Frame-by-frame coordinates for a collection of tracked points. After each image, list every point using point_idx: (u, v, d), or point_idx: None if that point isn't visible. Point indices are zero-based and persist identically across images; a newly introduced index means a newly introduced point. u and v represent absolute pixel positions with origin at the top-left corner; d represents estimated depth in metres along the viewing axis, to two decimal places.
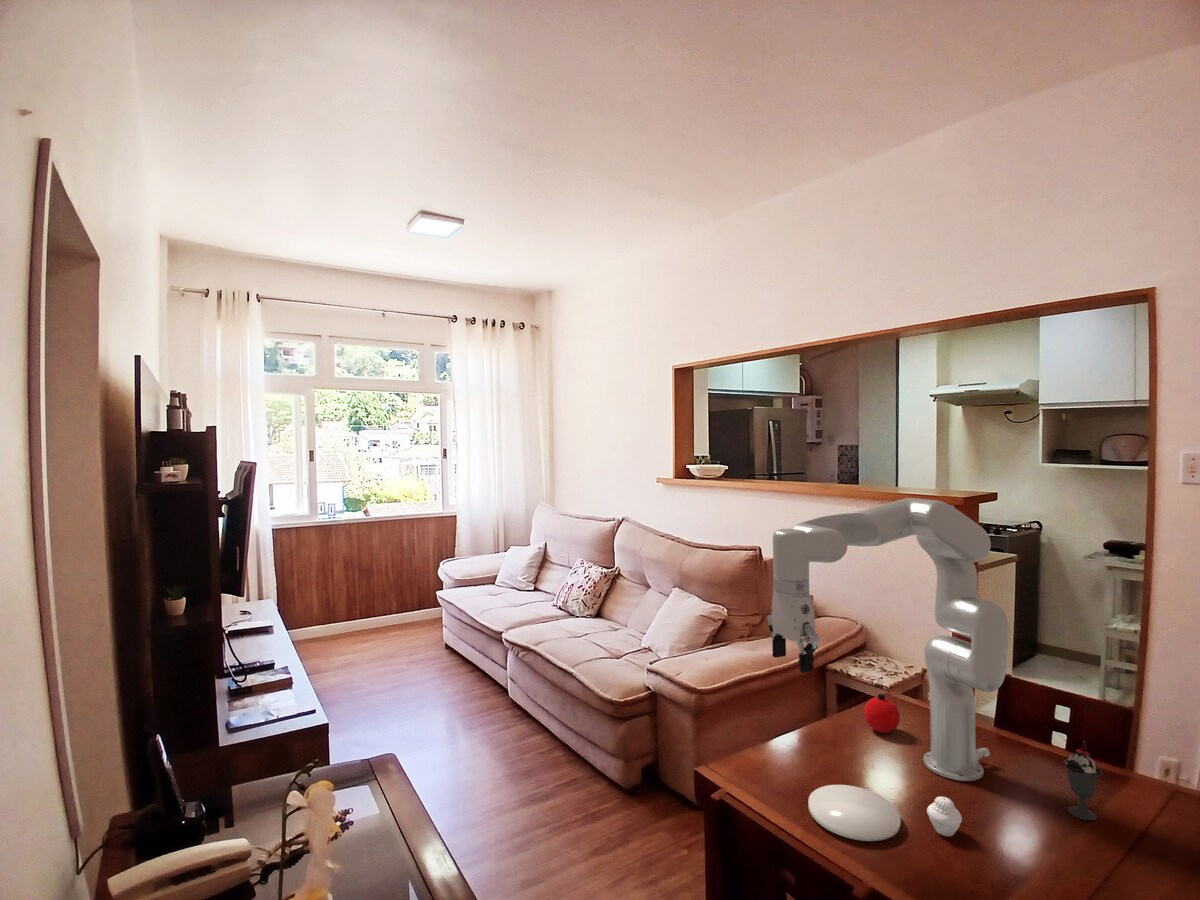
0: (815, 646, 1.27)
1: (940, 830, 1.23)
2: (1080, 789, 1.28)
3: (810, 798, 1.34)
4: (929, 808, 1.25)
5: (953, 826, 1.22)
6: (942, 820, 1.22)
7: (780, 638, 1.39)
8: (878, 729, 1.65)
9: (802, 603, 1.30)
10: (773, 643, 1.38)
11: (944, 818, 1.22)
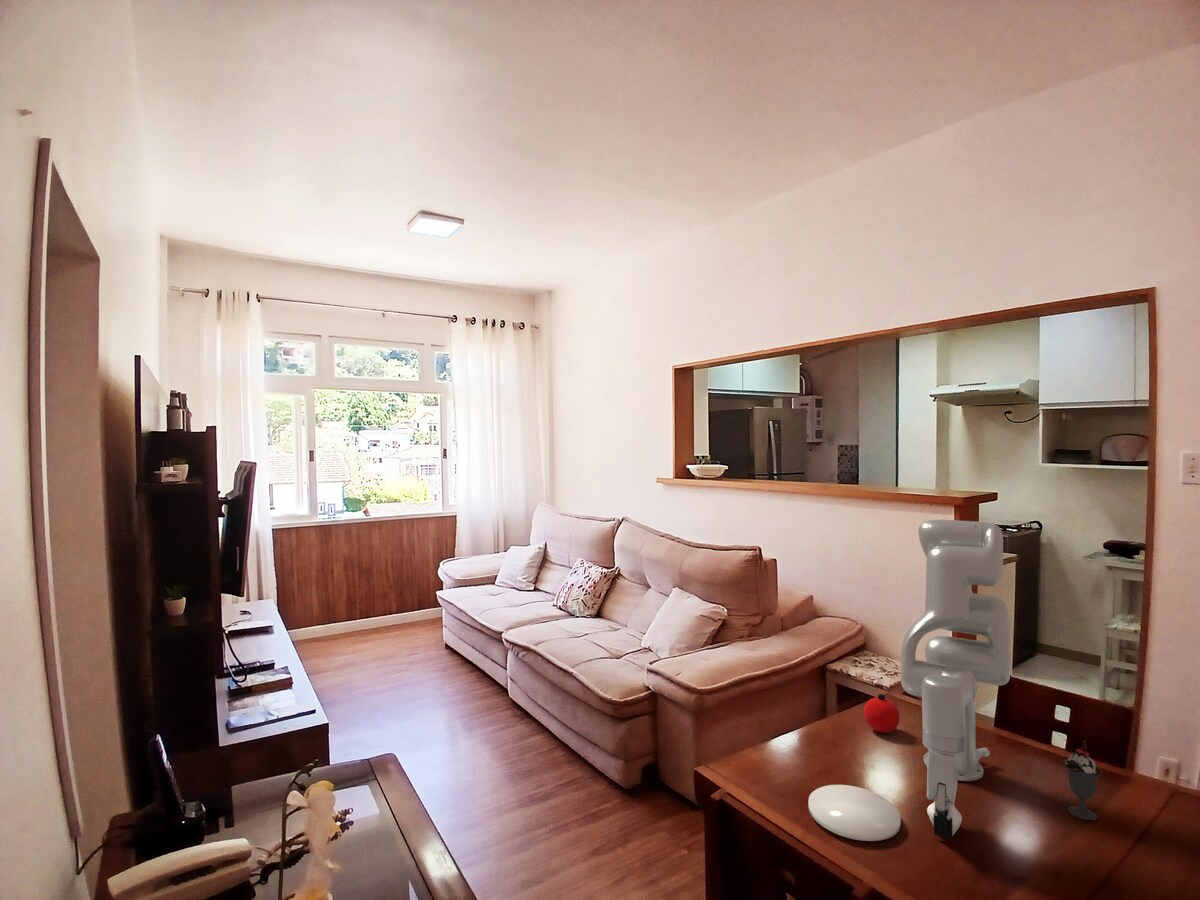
0: None
1: None
2: (1080, 789, 1.28)
3: (810, 798, 1.34)
4: (929, 808, 1.25)
5: (953, 826, 1.22)
6: None
7: None
8: (878, 729, 1.65)
9: None
10: None
11: None
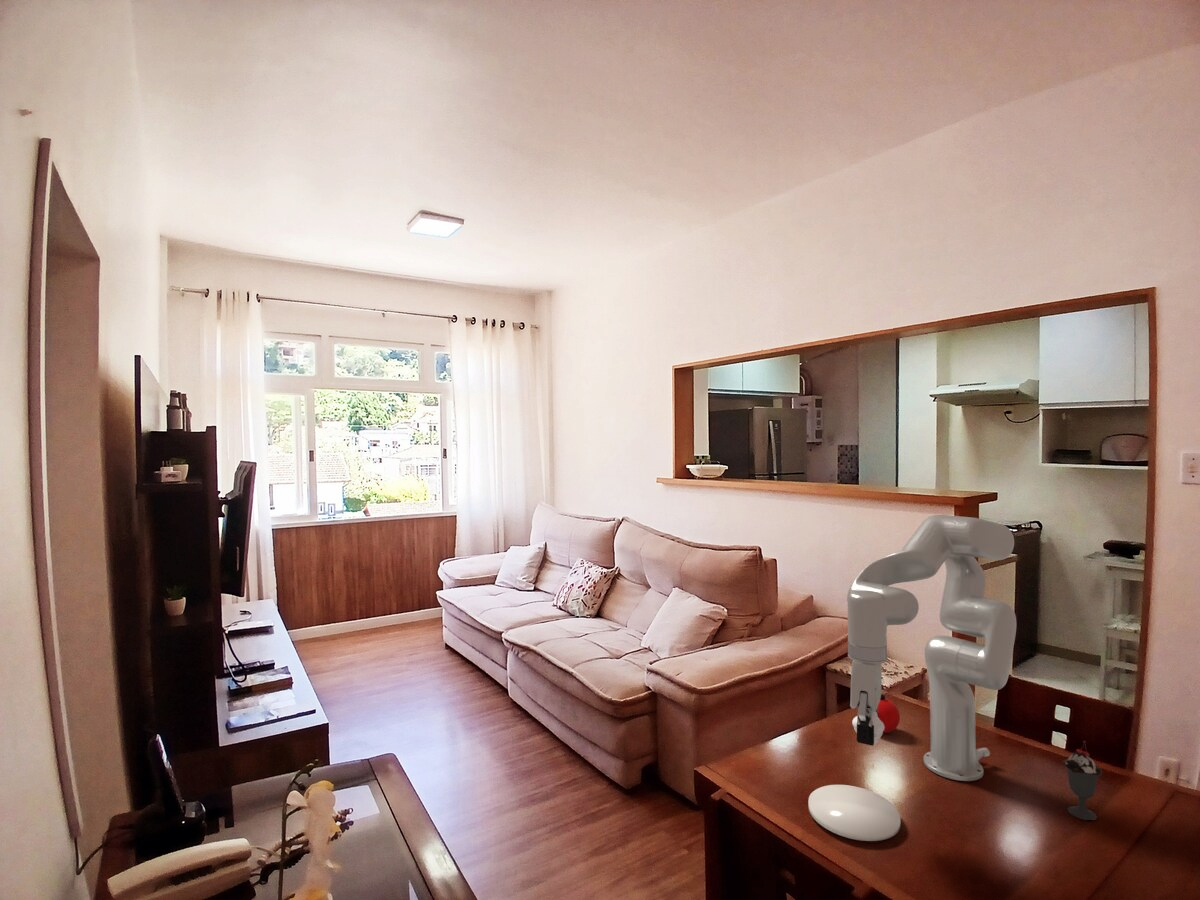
0: None
1: None
2: (1080, 789, 1.28)
3: (810, 798, 1.34)
4: (854, 719, 1.29)
5: (875, 734, 1.26)
6: None
7: None
8: None
9: None
10: (873, 729, 1.25)
11: None
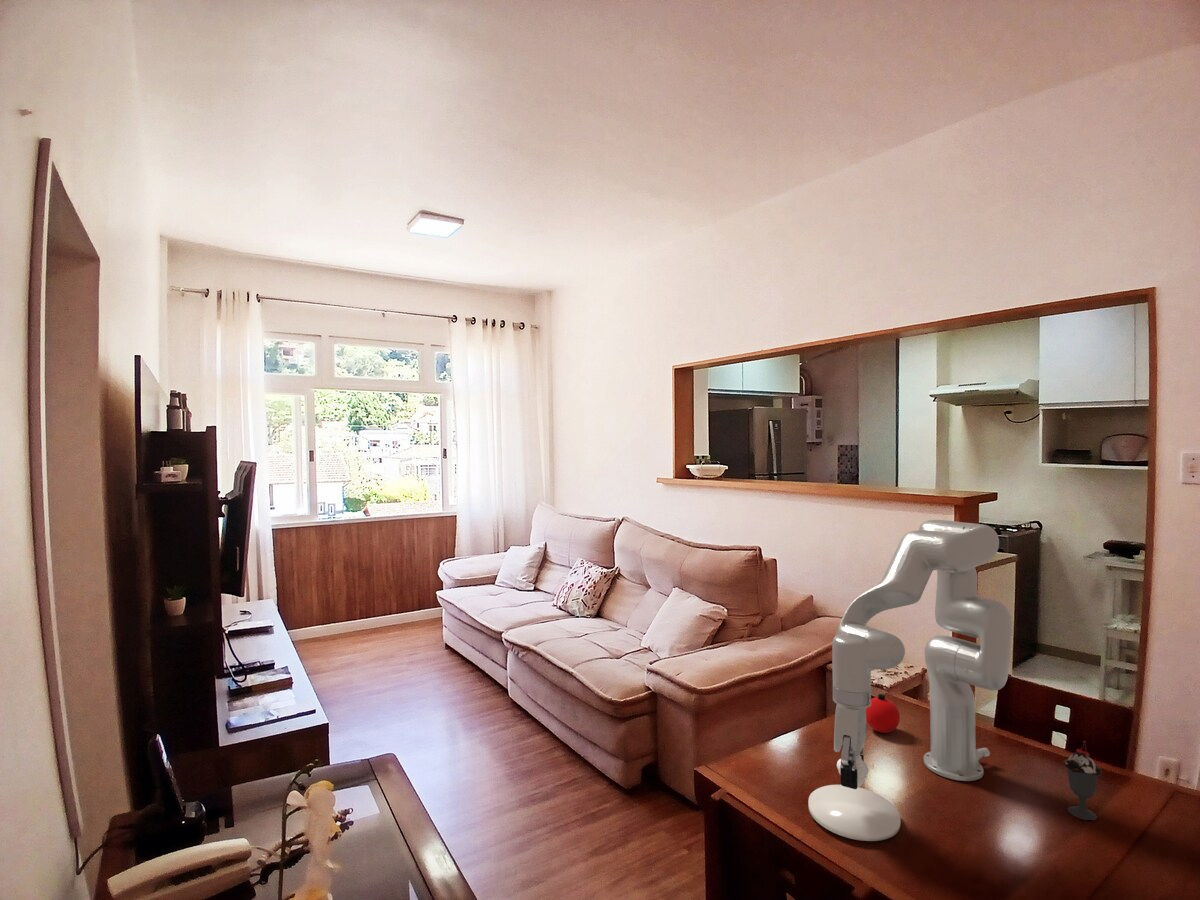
0: None
1: None
2: (1080, 789, 1.28)
3: (810, 798, 1.34)
4: (838, 761, 1.31)
5: (859, 777, 1.27)
6: None
7: None
8: (878, 729, 1.65)
9: None
10: None
11: None
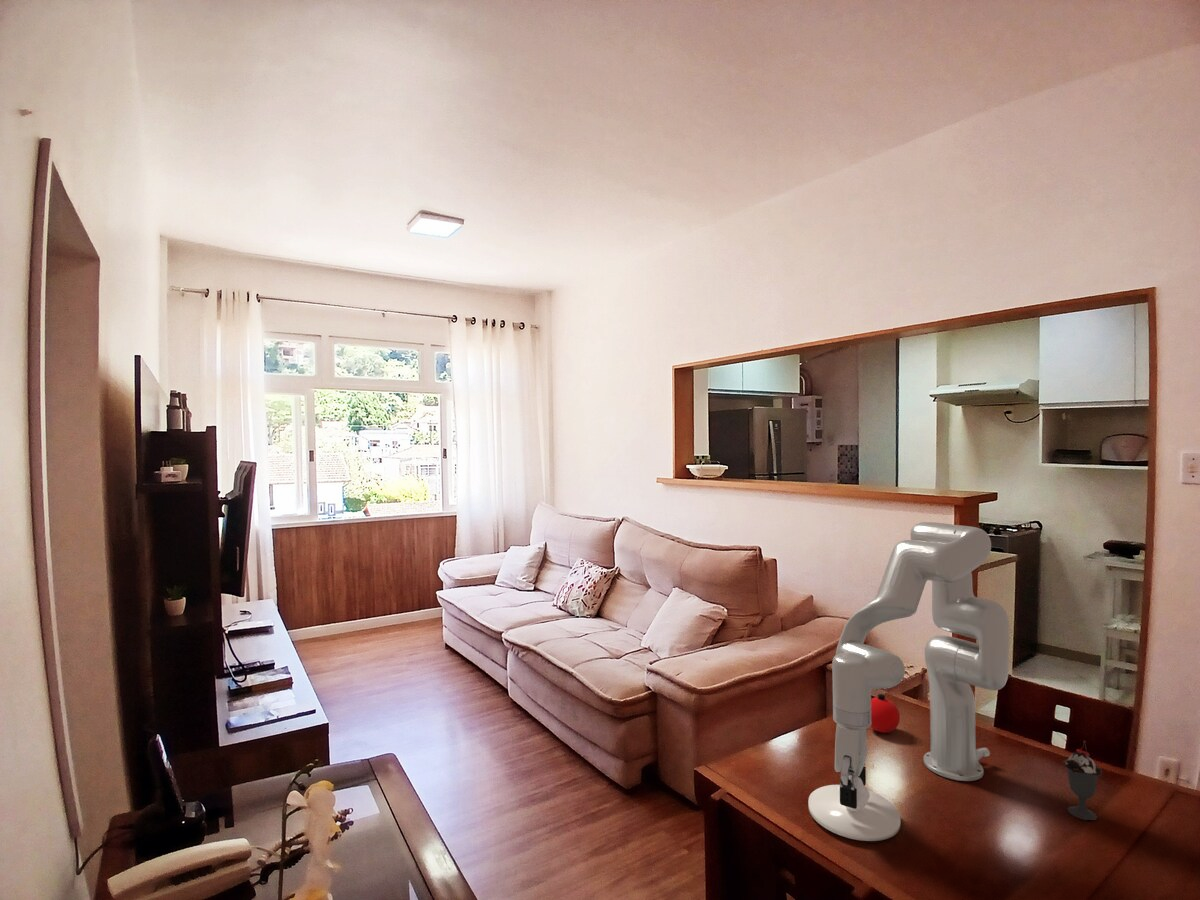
0: None
1: (848, 807, 1.28)
2: (1080, 789, 1.28)
3: (810, 798, 1.34)
4: None
5: (860, 803, 1.27)
6: None
7: None
8: (878, 729, 1.65)
9: None
10: (856, 792, 1.25)
11: None
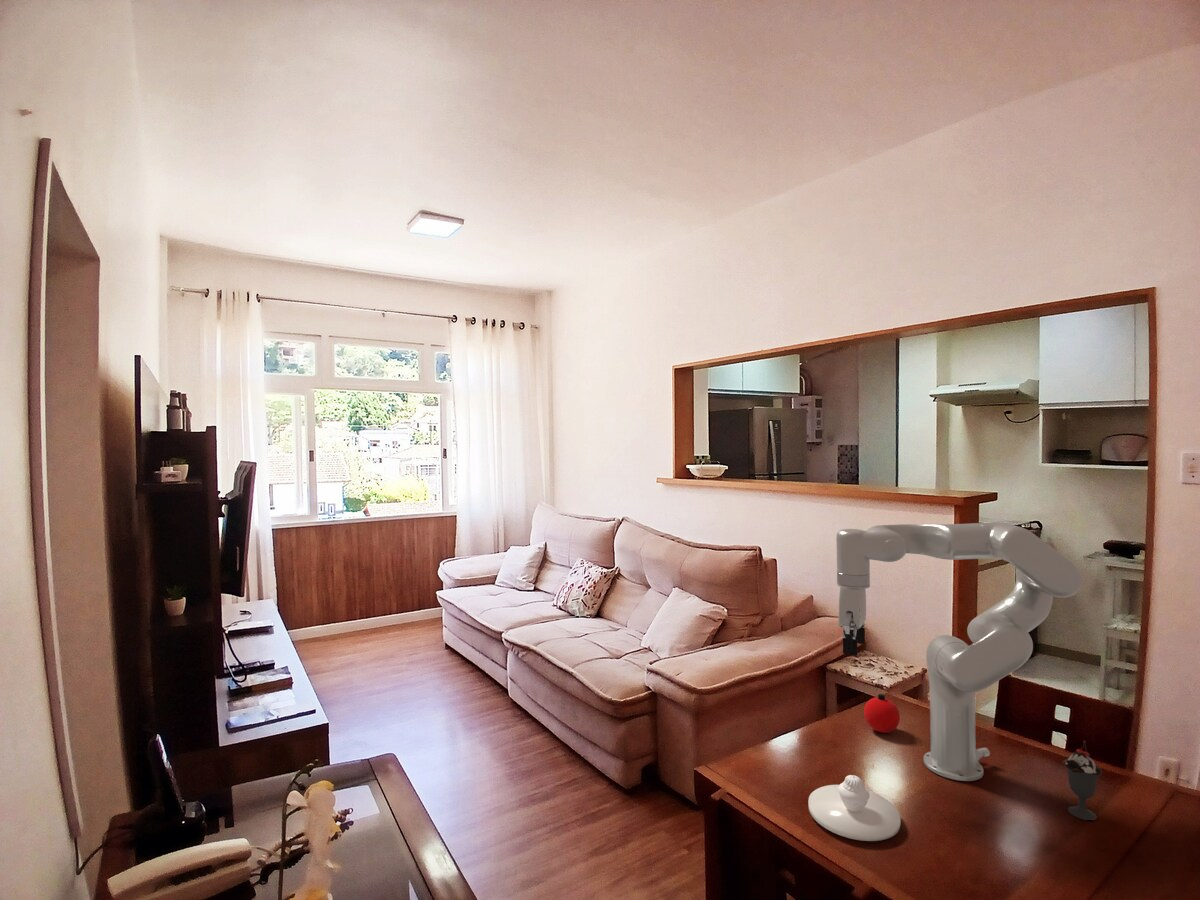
0: None
1: (848, 807, 1.28)
2: (1080, 789, 1.28)
3: (810, 798, 1.34)
4: (840, 786, 1.31)
5: (860, 803, 1.27)
6: (849, 797, 1.27)
7: None
8: (878, 729, 1.65)
9: None
10: (857, 642, 1.47)
11: (852, 795, 1.27)
